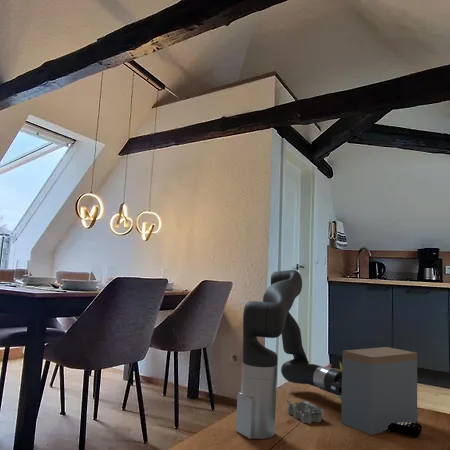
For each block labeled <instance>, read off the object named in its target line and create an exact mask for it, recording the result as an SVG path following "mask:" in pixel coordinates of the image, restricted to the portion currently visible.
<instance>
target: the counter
mask: <svg viewBox="0 0 450 450" xmlns="http://www.w3.org/2000/svg"><path fill="white" fill-rule="evenodd" d="M341 358H342V361H341V363H342V398H341V404H340V406H341V408H340V409H341V413H340V414H341V416H340V417H341V418H340V423H341V424H343V425H345V426H348V427H351V428H353V429H356V430H357V431H361V432H363V433H365V434H368V435H370V436H374V435H377V434H381V433H384V432H383V431H385V430H387V429H388V426H389V425H390V424H391V423H394V422H412V423H414V424H416V423H418V352H415V351H409V350H405V349H399V348H393V347H390V346H389V347H388V346H383V347H372V348H371V347H369V348H360V349H346V350H342V357H341ZM385 432H386V431H385Z"/></svg>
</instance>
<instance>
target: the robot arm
mask: <svg viewBox="0 0 450 450" xmlns="http://www.w3.org/2000/svg"><path fill="white" fill-rule="evenodd" d="M302 288H303V279H302V275H301V274H300V272H299V271H297V270H295V269H290V270H288V269H287V270H278V271H273V272H272V273H271V275H270V286H268V288H267V289H266V291H265V292H264V293H263V297H262V301H258V300H257V301H256V300H250V301H247V302H246V303H245V305H244V307H243V312H242V313H243V315H242V359H241V360H242V362H241V363H242V364H241V365H242V367H241V380H240V381H241V382H240V391H238V393H237V397H236V398H237V399H236V402H237V403H236V419H235V432H237V433H239V434H240V435H242V436H244V437H246V438H248V439H249V440H252V439H257V440H263V439H264V440H265V439H270V438H273V437H274V436H275V434H276V433H275V429H276V427H275V426H276V409H277V408H276V407H277V383H278V381H277V380H278V378H277V377H278V354H277V352H275V351H273V350H271V349H269V348H267V347H266V346H264V344H263V345H262V344H261V343H260V342H259V340H258V338H267V339H268V338H269V339H276V338H279V337H280V336H281V340H282V348H283V352H284V353H285V354H287V355H292V356H293V359H290V360H287V361H285V362H284V363H283V364H282V366H281V369H280V372H281V375H282V377H283V378H284V380H286V381H288V382H289V383H293V384H301V385H310V386H312V387H315V388H318V389H320V390H322V391H325V392H327V393H330V394H333V395H336V396H338V395H339V396H341V395H342V371H341V370H340V369H336V368H331V367H329V366H322V365H318V364H314V363H310V362H309V359H308V357H307V355H306V352H305V349H304V346H303V340H302V331H301V328H300V326H299V324H298V322H297V320H296V319H295V318H294V317H293V316H292V313H291V312H290V310H291V308H292V307H293V305H294V302H295V299H296V298H297V297H298V296H299V295H301V291H302ZM339 396H338V397H339Z"/></svg>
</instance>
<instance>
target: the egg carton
mask: <svg viewBox="0 0 450 450" xmlns="http://www.w3.org/2000/svg"><path fill="white" fill-rule="evenodd" d="M285 401H286V402H287V403H288V406H287V407H286V411H287V415H290V416H293V418H294V419H296V420H297V419H298V420H300V422H301V423H302V424H303V423H306V424H309V425H311V424H312V422H316V423H321V422H322V419H323V418H322V417H323V414H322V412H323V411H324V410H325V409H324V408H323V409H322V408H321V407H318V406H317V405H315V404H312V403H311V402H310V401H299V402H297V401H295V403H294V404H293V403H292V401H291V400H290V401H289V399H285Z"/></svg>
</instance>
